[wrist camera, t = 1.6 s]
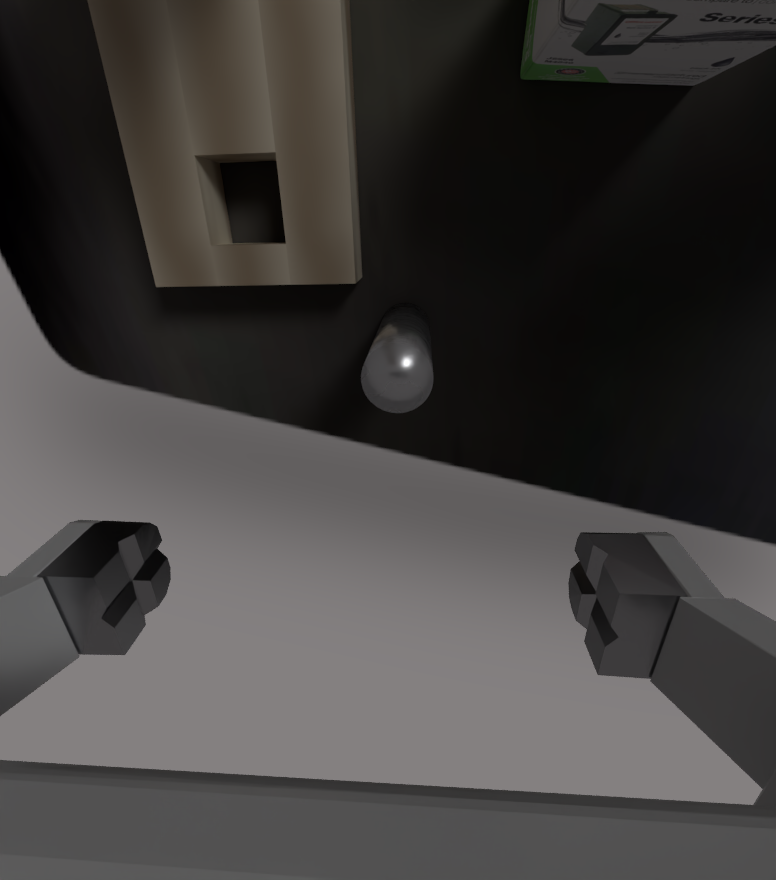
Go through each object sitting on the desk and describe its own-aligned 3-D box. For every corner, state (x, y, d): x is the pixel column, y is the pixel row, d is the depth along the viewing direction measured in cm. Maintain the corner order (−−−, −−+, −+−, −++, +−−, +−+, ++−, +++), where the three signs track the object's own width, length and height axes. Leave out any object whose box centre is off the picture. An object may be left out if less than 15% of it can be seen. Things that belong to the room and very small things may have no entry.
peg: (429, 302, 27) (434, 343, 18) (429, 352, 28) (432, 413, 19) (380, 303, 27) (359, 343, 18) (381, 352, 28) (362, 412, 19)
